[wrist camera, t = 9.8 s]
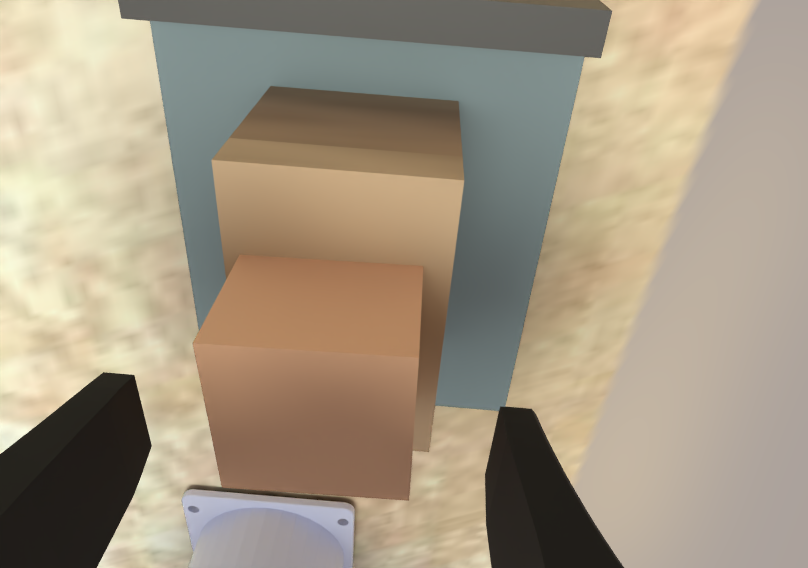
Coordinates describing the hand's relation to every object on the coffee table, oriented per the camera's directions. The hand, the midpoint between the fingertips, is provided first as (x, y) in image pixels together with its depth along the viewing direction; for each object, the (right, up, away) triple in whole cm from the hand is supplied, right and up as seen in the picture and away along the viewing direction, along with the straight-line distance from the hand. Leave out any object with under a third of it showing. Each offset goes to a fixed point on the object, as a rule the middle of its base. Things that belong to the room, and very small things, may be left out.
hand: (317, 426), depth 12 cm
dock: (+1, +5, +8) cm, 9 cm away
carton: (0, +2, +2) cm, 3 cm away
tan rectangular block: (0, +5, +6) cm, 8 cm away
